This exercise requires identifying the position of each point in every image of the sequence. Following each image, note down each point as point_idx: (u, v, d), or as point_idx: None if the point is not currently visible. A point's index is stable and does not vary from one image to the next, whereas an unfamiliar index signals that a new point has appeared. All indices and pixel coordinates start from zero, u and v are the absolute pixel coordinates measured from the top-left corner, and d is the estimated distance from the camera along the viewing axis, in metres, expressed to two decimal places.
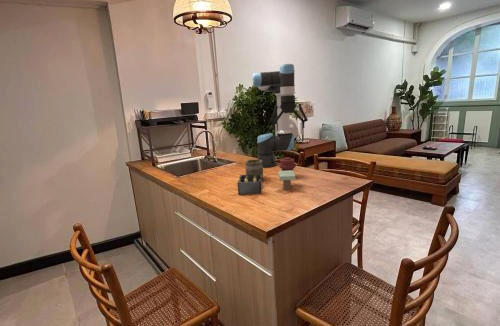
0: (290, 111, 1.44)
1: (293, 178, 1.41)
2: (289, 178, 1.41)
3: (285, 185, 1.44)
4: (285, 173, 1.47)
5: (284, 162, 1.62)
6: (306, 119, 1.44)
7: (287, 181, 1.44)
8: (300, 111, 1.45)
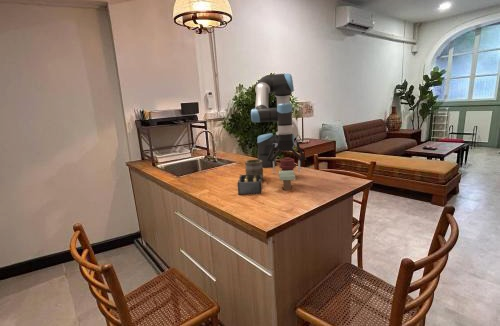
0: (288, 149, 1.43)
1: (293, 178, 1.41)
2: (289, 178, 1.41)
3: (285, 185, 1.44)
4: (285, 173, 1.47)
5: (284, 162, 1.62)
6: (304, 157, 1.43)
7: (287, 181, 1.44)
8: None
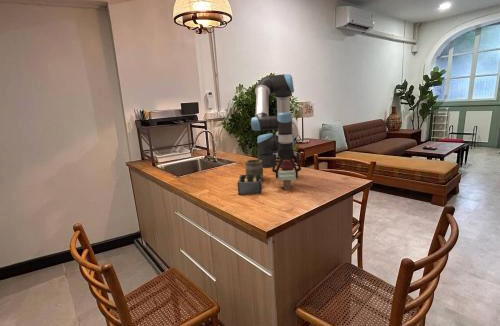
0: (288, 158, 1.44)
1: (293, 178, 1.41)
2: (289, 178, 1.41)
3: (285, 185, 1.44)
4: (285, 173, 1.47)
5: (284, 162, 1.62)
6: (299, 169, 1.45)
7: (287, 181, 1.44)
8: (296, 159, 1.45)
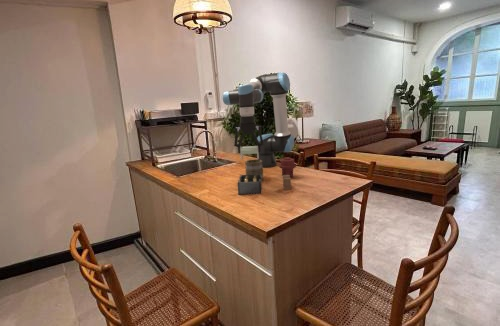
0: (250, 132, 1.41)
1: (254, 152, 1.38)
2: (250, 152, 1.38)
3: (285, 185, 1.44)
4: (248, 148, 1.44)
5: (284, 162, 1.62)
6: (262, 143, 1.42)
7: (287, 181, 1.44)
8: None
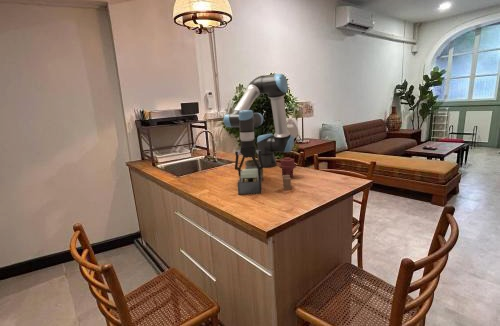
0: (250, 156, 1.44)
1: (254, 176, 1.41)
2: (250, 176, 1.41)
3: (285, 185, 1.44)
4: (248, 171, 1.46)
5: (284, 162, 1.62)
6: (262, 167, 1.44)
7: (287, 181, 1.44)
8: None
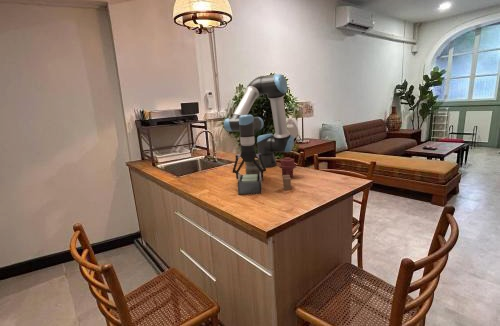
0: (250, 160, 1.44)
1: None
2: None
3: (285, 185, 1.44)
4: (248, 177, 1.47)
5: (284, 162, 1.62)
6: (264, 169, 1.45)
7: (287, 181, 1.44)
8: None
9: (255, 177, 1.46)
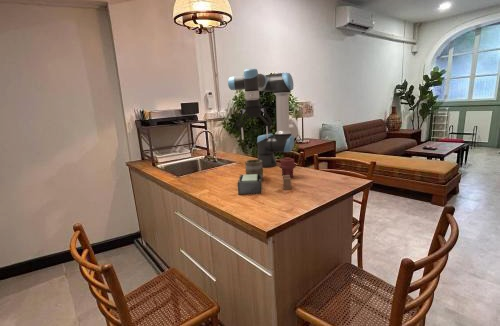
0: (255, 115, 1.46)
1: None
2: None
3: (285, 185, 1.44)
4: (248, 177, 1.47)
5: (284, 162, 1.62)
6: (271, 123, 1.46)
7: (287, 181, 1.44)
8: None
9: (255, 177, 1.46)
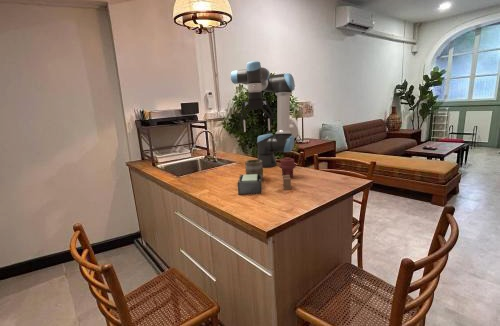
0: (257, 107, 1.48)
1: None
2: None
3: (285, 185, 1.44)
4: (248, 177, 1.47)
5: (284, 162, 1.62)
6: (273, 115, 1.48)
7: (287, 181, 1.44)
8: None
9: (255, 177, 1.46)
